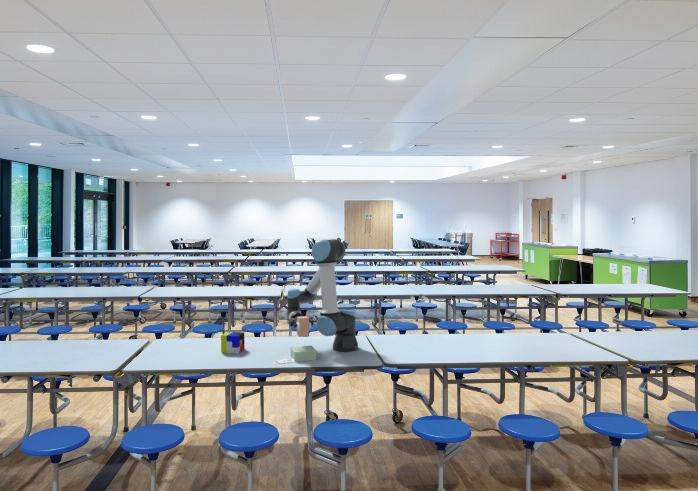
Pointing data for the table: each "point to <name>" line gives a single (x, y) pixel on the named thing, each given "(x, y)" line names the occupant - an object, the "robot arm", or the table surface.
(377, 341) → the table surface
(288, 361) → the page
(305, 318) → the brick
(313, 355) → the base block
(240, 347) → the puzzle toy
